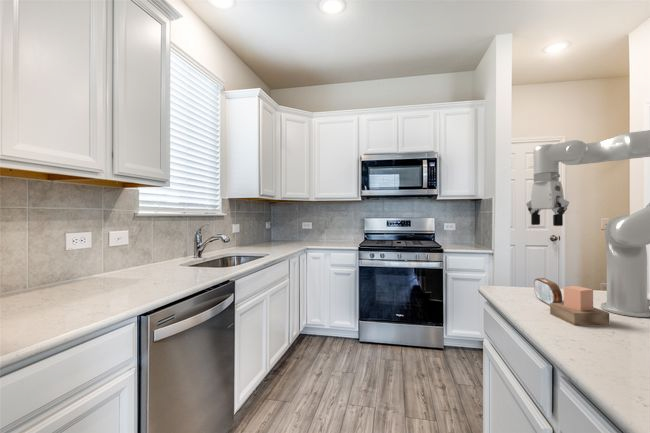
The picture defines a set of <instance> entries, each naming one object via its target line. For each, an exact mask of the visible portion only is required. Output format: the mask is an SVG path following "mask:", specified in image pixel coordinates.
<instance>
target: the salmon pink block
mask: <svg viewBox="0 0 650 433" xmlns="http://www.w3.org/2000/svg"><path fill="white" fill-rule="evenodd" d="M563 303H564V306H566V307H569V308H572V309H576V310H579V311H584V310H592V309H593V307H594V289H592V288H587V287H584V286H583V287H582V286H578V285H571V286H563Z"/></svg>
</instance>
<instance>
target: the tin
mask: <svg viewBox="0 0 650 433" xmlns="http://www.w3.org/2000/svg"><path fill="white" fill-rule="evenodd" d="M533 286H534V294H535V296H536V298H537V299H538V300H539V301H540V302H542V303H544V304H546V305H547V306H549V307H550V303H563V294H562V290H561V288H560V287H559V285H558V283H556V282H554V281H552V280H549V279H547V278H546V277H542V278H540V277H539V278H535V279H534V281H533Z"/></svg>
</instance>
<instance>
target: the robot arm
mask: <svg viewBox="0 0 650 433" xmlns="http://www.w3.org/2000/svg"><path fill="white" fill-rule="evenodd" d="M532 156H533V158H532V159H533V183H532V186H531V187H532V188H531V195H530V197H531V199H530V200H529V201H527V203H526V206H527V210H528V212H529V214H530V218H531V219H530V224H531V226H539V225H540V224H541V214H540V212H541V211H542V210H552V212H553V213H554V214H553V215H552V220H553V221H552V224H553V226H554V227H562V226H563V225H564V223H563V221H564V216H563V215H565V212H566V211H567V210H568V207H569V204H570V201H568V200H566V199H564V198H565V197H564V190H563V184H562V182H561V181H560V179H559V178H560V177H561V174H560V173H559V172H560V168H559V167H560V166H559V164H560V163H562V164H563V165H566V166H578V165H589V164H590V165H591V164H597V163H599V164H600V163H606V162H616V161H623V160H624V161H625V160H632V159H641V158H650V129H649V130H640V131H639V130H638V131H632V132H626V133H623V134H619V135H617V136H614V137H611V138H608V139H604V140H601V141H600V140H599V141H595V142H587V143H586V142H584V141H583V140H578V139H577V140H576V139H574V140H573V139H572V140H567V141H564V142H559V143H555V144H554V143H549V144H548V143H547V144H541V145H537V146H535V147H534V148H533V155H532ZM604 237H605V238H604V239H605V248H606V302H602V303H601V304H600V308H601V310H603V311H605V312H608V313H613V314H616V315H623V316H628V317H638V318H650V298H648V251H647V246H648V245H650V202H649V203H647V204H646V206H645V207H644V208H642V209H640V210H637V211H635V212H634V213H632V214H629V215H620V216H616V217H613V218H612V219H610V220H609V221H608V223H607V224H606V225H605V229H604Z"/></svg>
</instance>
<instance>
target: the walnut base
mask: <svg viewBox="0 0 650 433" xmlns="http://www.w3.org/2000/svg"><path fill="white" fill-rule="evenodd" d="M549 314H550V315H551V316H553V317H555V318H557V319H560V320H561V321H564V322H566V323H568V324H570V325H572V326H610V312H609V311H606V310H604V309H599V308H596V307H594V306H593V309H592V310H584V311H579V310H576V309H572V308H569V307H566V306H564V302H562V303H550V306H549Z"/></svg>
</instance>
